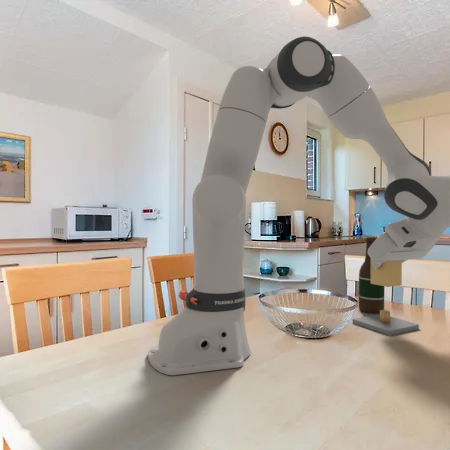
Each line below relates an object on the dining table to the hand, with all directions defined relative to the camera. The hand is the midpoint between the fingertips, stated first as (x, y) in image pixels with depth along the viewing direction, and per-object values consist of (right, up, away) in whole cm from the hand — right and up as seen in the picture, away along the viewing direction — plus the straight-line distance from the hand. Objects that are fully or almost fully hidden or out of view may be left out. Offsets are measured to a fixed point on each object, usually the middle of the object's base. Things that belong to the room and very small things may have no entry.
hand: (383, 266), depth 98 cm
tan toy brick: (0, -5, 0) cm, 5 cm away
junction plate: (0, -17, 0) cm, 17 cm away
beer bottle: (+3, -17, +16) cm, 23 cm away
